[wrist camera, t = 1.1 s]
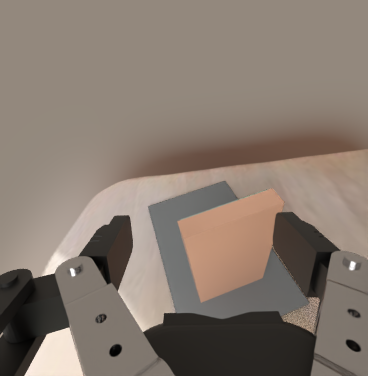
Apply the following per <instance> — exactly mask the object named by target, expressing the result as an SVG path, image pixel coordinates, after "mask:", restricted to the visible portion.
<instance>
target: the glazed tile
mask: <svg viewBox="0 0 368 376" xmlns="http://www.w3.org/2000/svg"><path fill="white" fill-rule="evenodd" d="M283 206H284V201H283V200H282V199H281V198H280V197H279V196H278V194H277V193H276V192H275V191H274V190H273V189H269V190H264V191H261V192H258V193H255V194H252V195H249V196H247V197H244V198H241V199H238V200H235V201H232V202H229V203H227V204H224V205H221V206H218V207H215V208H212V209H209V210H206V211H204V212H201V213H198V214H195V215H192V216H189V217H186V218H183V219H181V220H180V221H177V222H178V226H179V229H180V233H181V236H182V240H183V244H184V247H185V251H186V254H187V258H188V261H189V265H190V269H191V272H192V276H193V279H194V283H195V286H196V290H197V293H198V296H199V298H200V301H201V303H202V302H204V301H207V300H209V299H212V298H214V297H217V296H219V295H222V294H224V293H227V292H229V291H232V290H234V289H237V288H239V287H242V286H244V285H247V284H249V283H252V282H254V281H257V280H259V279H262V278H263V275H264V272H265V268H266V265H267V262H268V258H269V255H270V251H271V248H272V244H273V231H274V224H275V217H276V214H277V213H278V212H282V209H283Z"/></svg>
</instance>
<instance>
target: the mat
mask: <svg viewBox="0 0 368 376" xmlns="http://www.w3.org/2000/svg"><path fill="white" fill-rule="evenodd" d="M235 200H238V199H237V197H236V196H235V194H234V193H233V192H232V190H231V189H230V187H229V186H228V184H227V183H226V181H223V182H220V183H217V184H214V185H211V186H208V187H205V188H202V189H199V190H196V191H193V192H190V193H187V194H184V195H181V196H178V197H175V198H172V199H169V200H166V201H163V202H160V203H157V204H154V205H151V206H148V208H149V212H150V216H151V220H152V223H153V227H154V231H155V235H156V239H157V242H158V246H159V250H160V254H161V257H162V261H163V265H164V269H165V273H166V276H167V280H168V284H169V288H170V292H171V295H172V299H173V303H174V307H175V311H176V313H195V314H200V315H205V316H210V317H214V318H219V319H225V318H229V317H233V316H236V315H240V314H243V313H247V312H256V311H279V313H280V316H283V315H285V314H287V313H290V312H292V311H294V310H297V309H299V308H301V307H304V306H306V305H308V304H309V302H308V300H307V299H306V297H305V296H304V294H303V293H302V292H301V290H300V289H299V287H298V286H297V284H296V283H295V281H294V280H293V279H292V277H291V276H290V274H289V273H288V271H287V270H286V268H285V267H284V265H283V264H282V263H281V261H280V260H279V258H278V257H277V255H276V254H275V252H274V251H273V250H272V248H271V251H270V255H269V258H268V262H267V265H266V268H265V272H264V275H263V278H262V279H259V280H257V281H254V282H252V283H249V284H247V285H244V286H242V287H239V288H237V289H234V290H232V291H229V292H227V293H224V294H222V295H219V296H217V297H214V298H212V299H209V300H207V301H204V302H202V303H201V301H200V298H199V296H198V293H197V290H196V286H195V283H194V279H193V276H192V272H191V269H190V265H189V261H188V258H187V254H186V251H185V247H184V244H183V240H182V236H181V233H180V229H179V226H178V222H177V221H180V220H181V219H183V218H186V217H189V216H192V215H195V214H198V213H201V212H204V211H206V210H209V209H212V208H215V207H218V206H221V205H224V204H227V203H229V202H232V201H235Z"/></svg>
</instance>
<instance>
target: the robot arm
mask: <svg viewBox="0 0 368 376" xmlns="http://www.w3.org/2000/svg"><path fill="white" fill-rule="evenodd" d="M273 246H274V248H275V250H276V252H277V253H278V255H279V256H280V258H281V259H282V261H283V262H284V264H285V265H286V267H287V268H288V270H289V271H290V273H291V274H292V276H293V277H294V279H295V281H296V282H297V284H298V285H299V287H300V288H301V290H302V291H303V293H304V294H305V296H306V297H319V299H320V302H319V306H318V311H317V316H316V321H315V326H314V331H313V333H311V332H309V331H307V330H305V329H304V328H302V327H299V326H297V325H294V324H291V323H288V322H284V321H283V320H282V318H281V316H280V313H279V311H256V312H247V313H243V314H240V315H236V316H233V317H229V318H225V319H219V318H214V317H210V316H205V315H200V314H195V313H164V320H163V323H162V324H159V325H156V326H154V327H151V328H150V329H148V330H146V331H144V332H142V330H141V329H140V327H139V326H138V324H137V322H136V321H135V319H134V317H133V316H132V314H131V313H130V311H129V309H128V308H127V306H126V305H125V303H124V301H123V300H122V298H121V296H120V295H119V293H118V289H119V286H120V283H121V281H122V278H123V275H124V272H125V269H126V267H127V264H128V261H129V258H130V255H131V253H132V248H133V238H132V230H131V221H130V217H129V215H124V216H114V217H113V219H112V221H111V222H110V224H109V225H104V226H102V227H101V228H99V229H98V230H97V231H96V232H95V234H94V235H93V237H92V238H91V239H90V242H88V244H87V245H86V246H85V248H84V249H83V251H82V252H81V253H80V255H79V256H78V257H75V258H71V259H69V260H67V261H65V262H63V263H62V264H61V265H60V266H59V267H58V268H57V269H56V271H55V273H54V274H51V275H46V276H42V277H38V278H33V276H32V273H31V271H30V270H28V269H17V270H13V271H10V272H7V273H4V274H2V275H0V334H1V333H2V332H3V335H2V336H1V338H0V376H24V375H25V373H26V372H27V370H28V368H29V366H30V364H31V362H32V361H33V359H34V357H35V355H36V353H37V351H38V350H39V348H40V346H41V344H42V342H43V340H44V339H45V337H46V335H47V334H48V333H52V332H55V331H58V330H61V329H65V328H68V327H70V331H71V334H72V338H73V341H74V345H75V348H76V352H77V355H78V359H79V362H80V365H81V369H82V372H83V376H368V260H367V259H366V258H364V257H362V256H360V255H358V254H355V253H352V252H347V251H340V250H339V249H338V248H337V247H336V246H335V245H334V244H333V243H332V242H330V241H329V240H328V239H327V238H326V237H324V235H323V234H321V233H319V231H318V230H317V229H316V228H315V227H314V226H312V225H310V224H308V223H306V222H304V221H302V220H301V219H299V218H298V217H297V216H296V215H295V214H294V213H293V212H278V213H277V214H276V217H275V224H274V231H273Z"/></svg>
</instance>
